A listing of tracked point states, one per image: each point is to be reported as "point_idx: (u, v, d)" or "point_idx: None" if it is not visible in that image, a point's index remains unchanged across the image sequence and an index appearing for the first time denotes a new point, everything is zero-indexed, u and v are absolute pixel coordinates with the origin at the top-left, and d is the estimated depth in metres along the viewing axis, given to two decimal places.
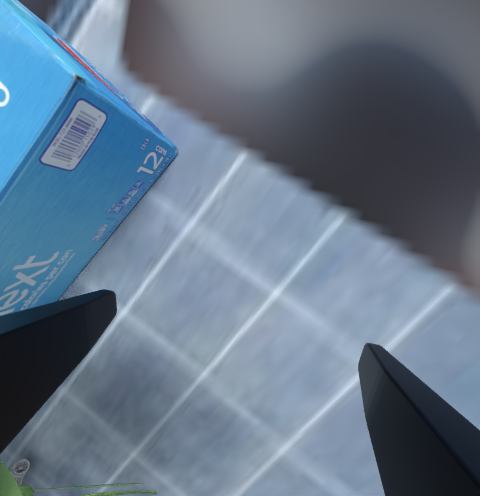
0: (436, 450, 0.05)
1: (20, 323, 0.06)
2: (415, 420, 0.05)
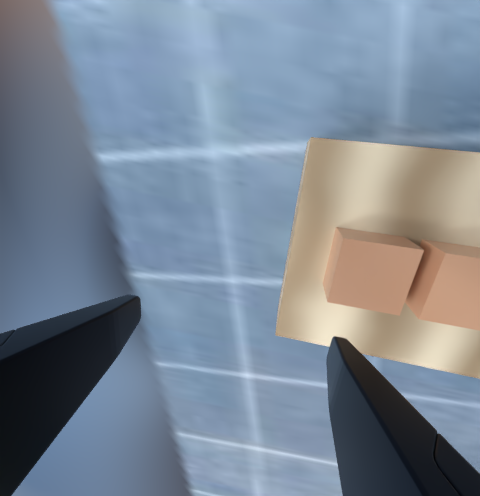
0: (378, 435, 0.05)
1: (54, 331, 0.06)
2: (364, 408, 0.05)
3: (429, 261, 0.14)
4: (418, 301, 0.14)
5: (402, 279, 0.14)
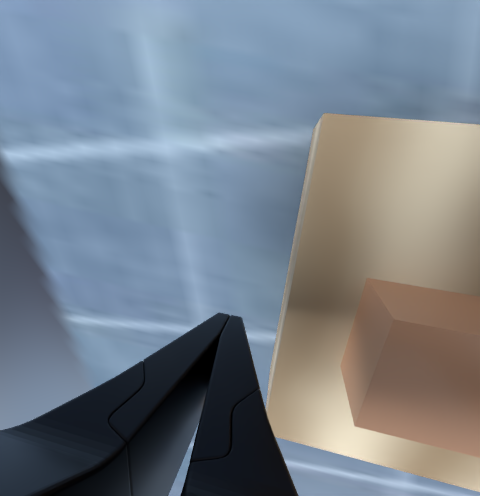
0: None
1: (184, 362, 0.06)
2: None
3: None
4: None
5: None
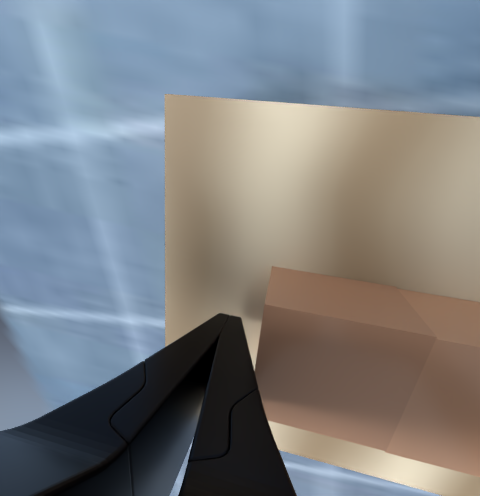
0: None
1: (185, 362, 0.06)
2: None
3: None
4: None
5: (390, 389, 0.06)
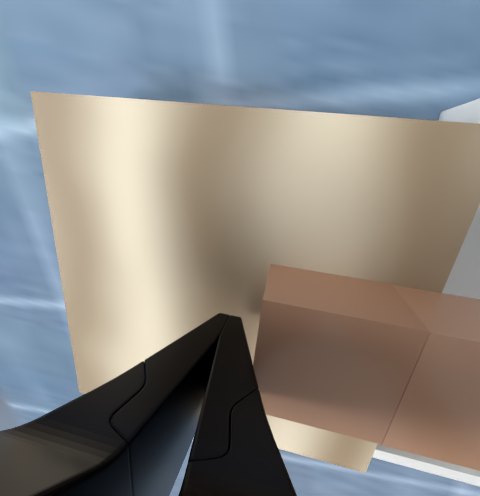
0: None
1: (184, 362, 0.06)
2: None
3: None
4: None
5: (384, 383, 0.07)
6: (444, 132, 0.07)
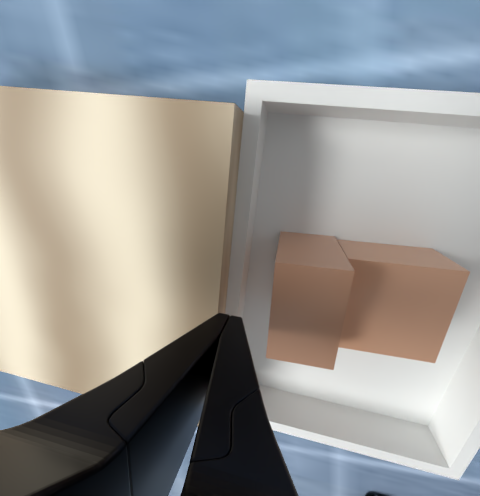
0: None
1: (184, 362, 0.06)
2: None
3: None
4: None
5: None
6: (187, 109, 0.08)
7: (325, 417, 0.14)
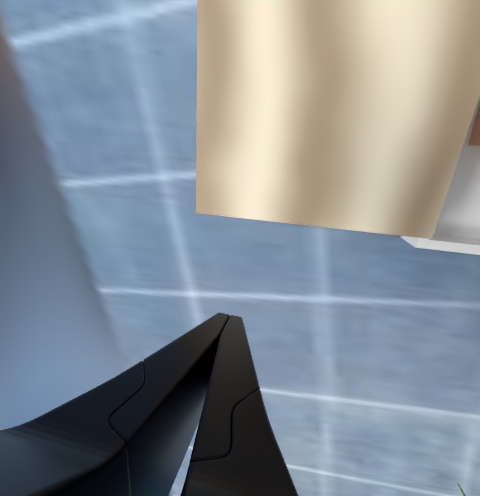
0: None
1: (183, 362, 0.06)
2: None
3: None
4: None
5: None
6: None
7: None
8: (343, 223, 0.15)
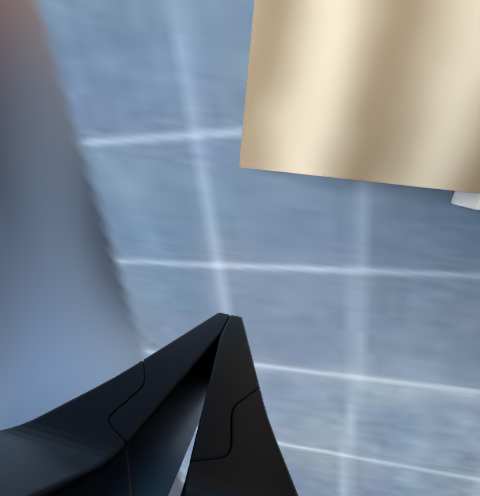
0: None
1: (183, 362, 0.06)
2: None
3: None
4: None
5: None
6: None
7: None
8: (403, 178, 0.14)
